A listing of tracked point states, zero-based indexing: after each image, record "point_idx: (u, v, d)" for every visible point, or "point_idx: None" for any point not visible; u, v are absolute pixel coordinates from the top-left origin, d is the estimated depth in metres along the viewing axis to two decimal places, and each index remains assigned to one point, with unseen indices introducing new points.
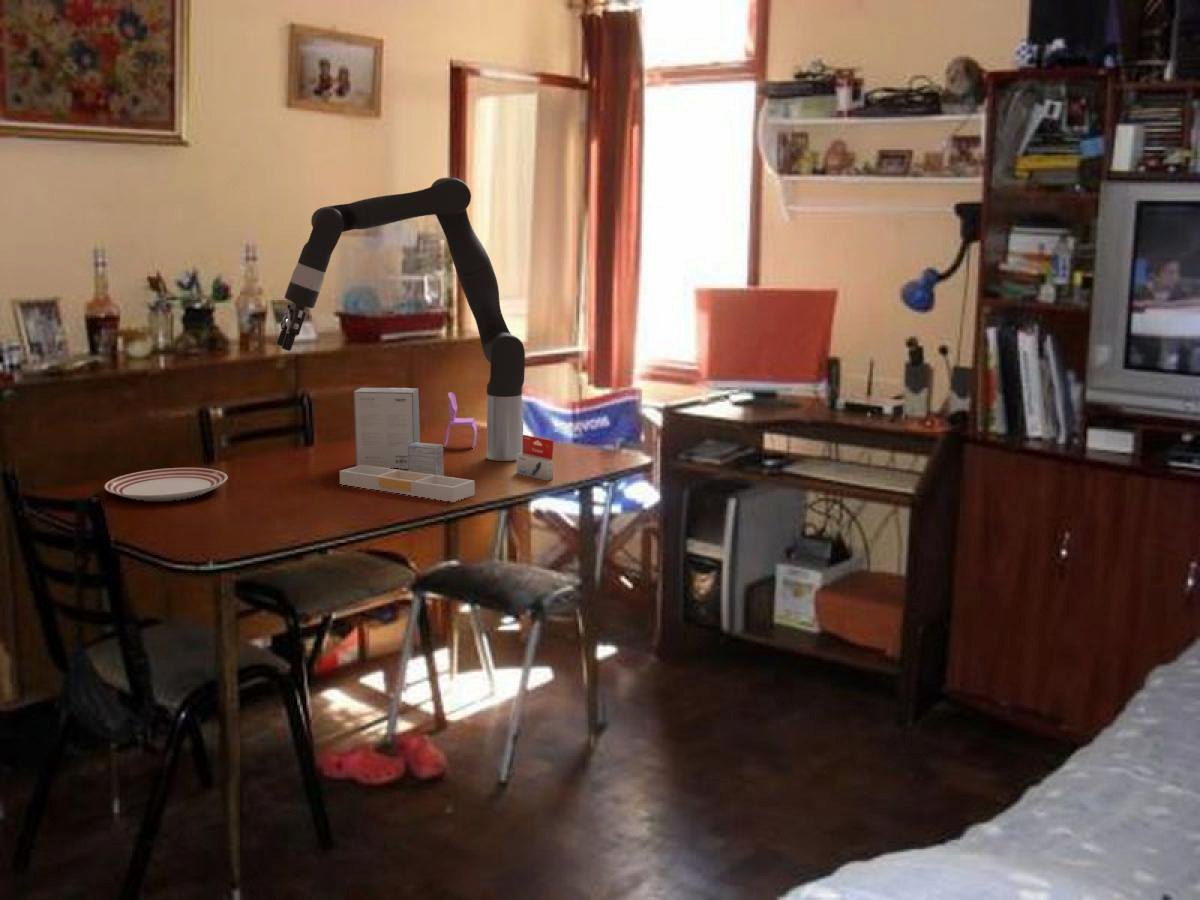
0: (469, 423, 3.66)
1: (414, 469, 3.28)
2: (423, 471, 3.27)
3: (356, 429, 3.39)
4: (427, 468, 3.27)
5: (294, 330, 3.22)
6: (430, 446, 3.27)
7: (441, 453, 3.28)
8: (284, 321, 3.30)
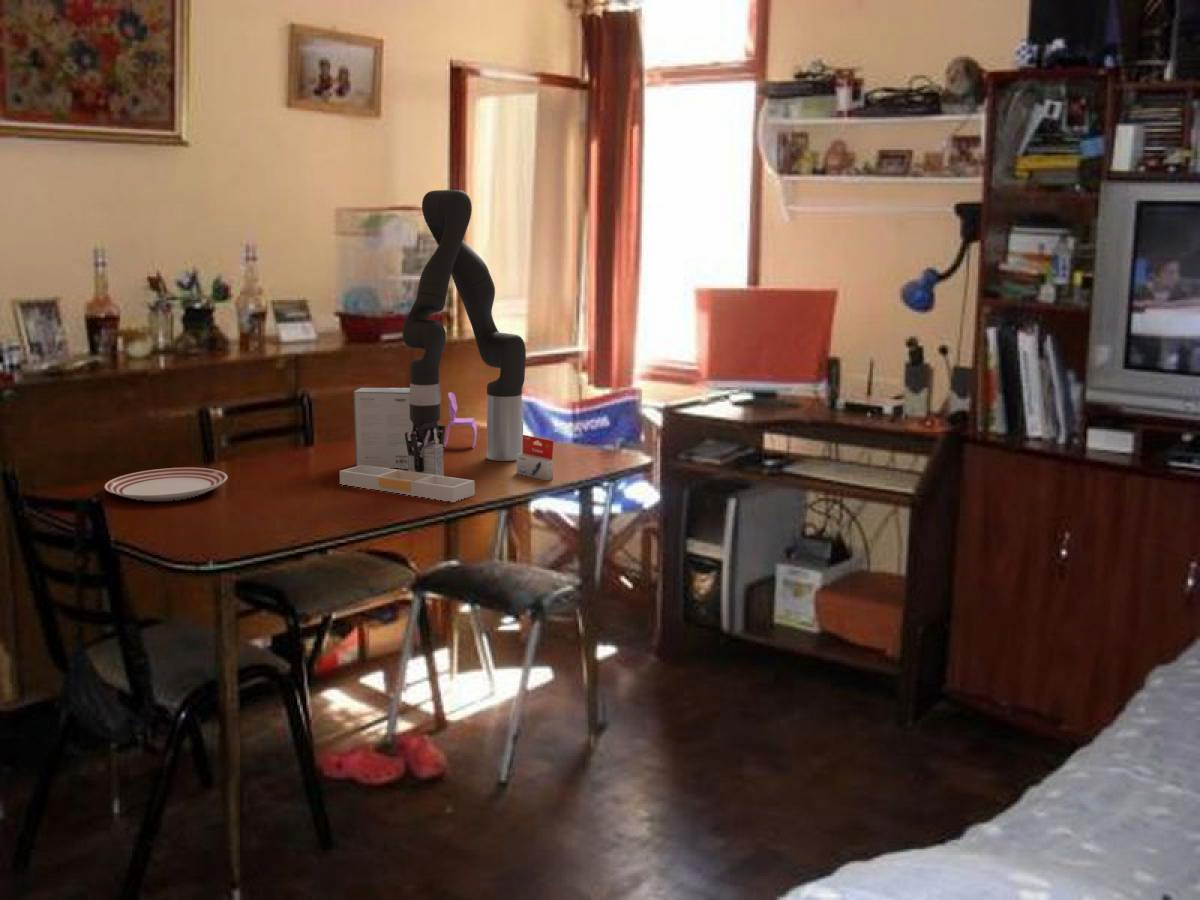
0: (469, 423, 3.66)
1: None
2: (423, 471, 3.27)
3: (356, 429, 3.39)
4: (427, 468, 3.27)
5: (411, 453, 3.24)
6: (430, 446, 3.27)
7: (441, 453, 3.28)
8: None
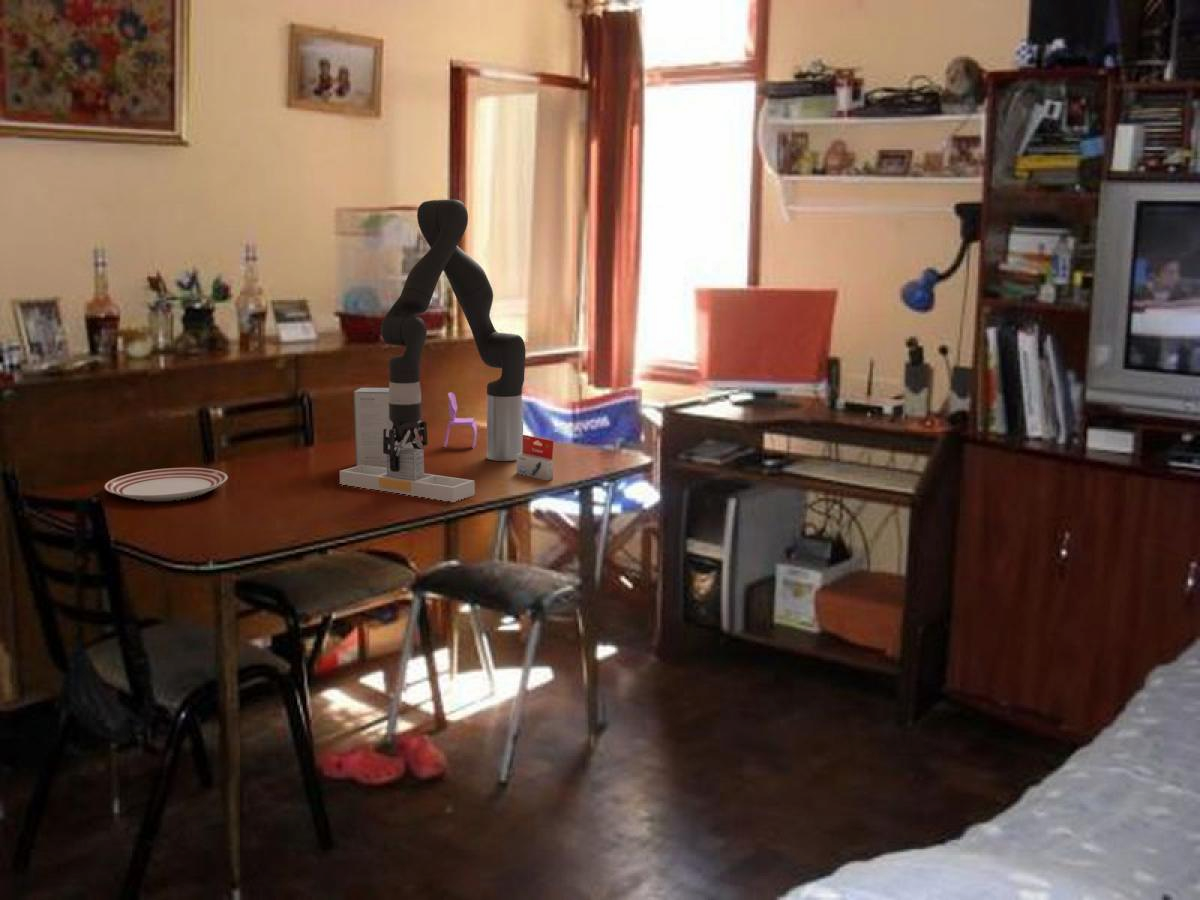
0: (469, 423, 3.66)
1: (393, 474, 3.16)
2: (402, 477, 3.15)
3: (356, 429, 3.39)
4: (406, 474, 3.15)
5: (387, 451, 3.10)
6: (409, 451, 3.15)
7: (421, 458, 3.16)
8: None
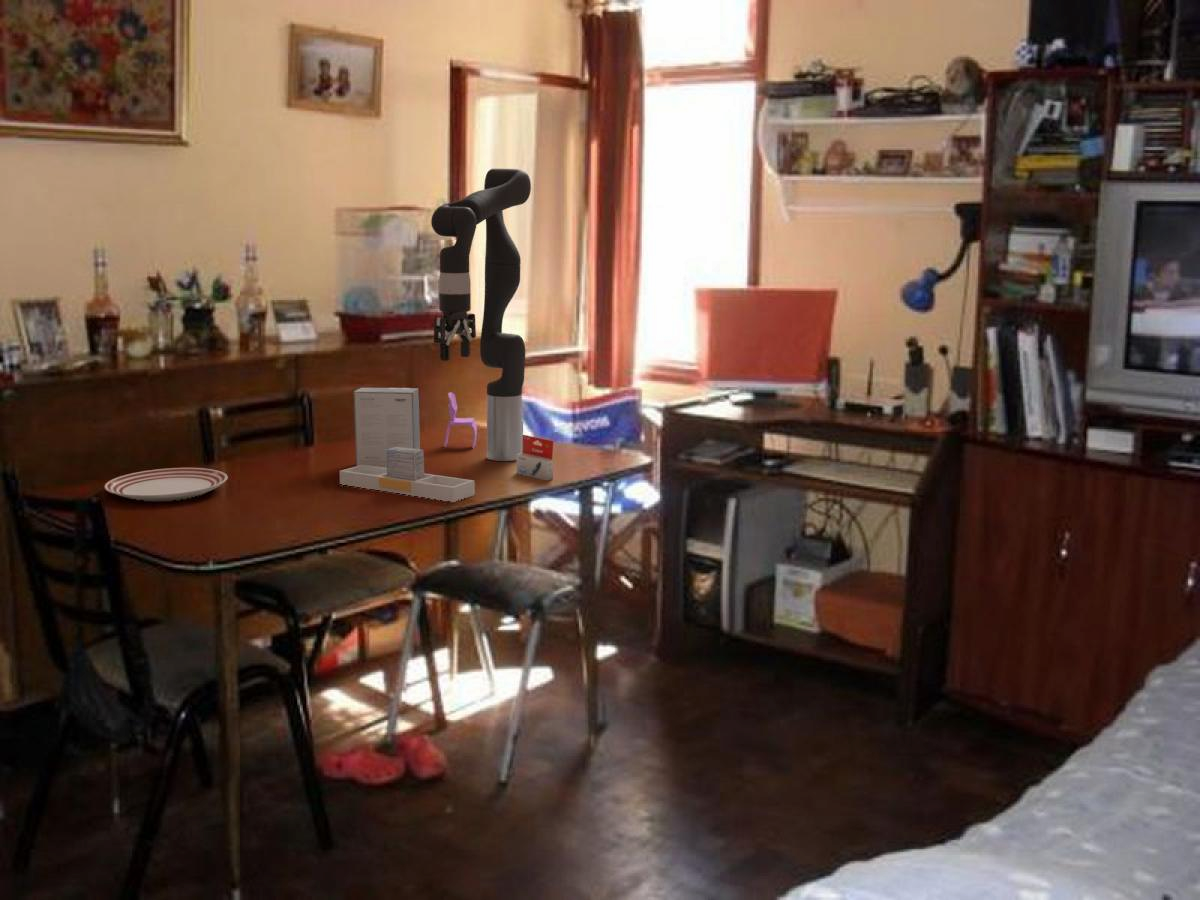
0: (469, 423, 3.66)
1: (393, 474, 3.16)
2: (402, 477, 3.15)
3: (356, 429, 3.39)
4: (406, 474, 3.15)
5: (437, 339, 3.16)
6: (409, 451, 3.15)
7: (421, 458, 3.16)
8: None
